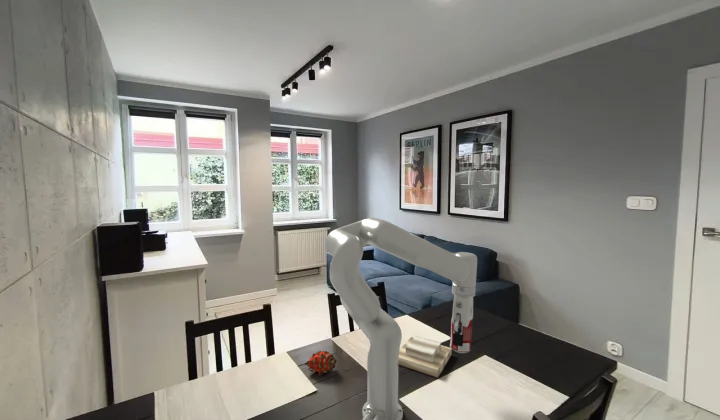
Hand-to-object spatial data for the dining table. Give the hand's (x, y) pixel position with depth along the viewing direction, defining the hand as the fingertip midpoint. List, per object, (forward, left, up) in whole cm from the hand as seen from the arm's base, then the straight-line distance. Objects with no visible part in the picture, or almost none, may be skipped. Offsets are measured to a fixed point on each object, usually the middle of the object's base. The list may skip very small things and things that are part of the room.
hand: (460, 340), depth 107 cm
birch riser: (+13, +18, -18) cm, 28 cm away
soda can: (0, 0, -3) cm, 3 cm away
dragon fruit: (-16, +48, -19) cm, 54 cm away
